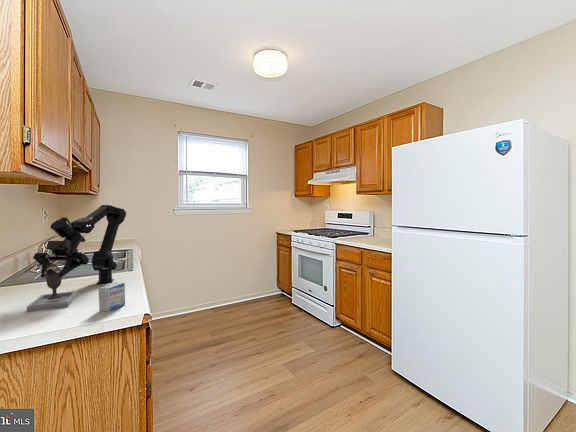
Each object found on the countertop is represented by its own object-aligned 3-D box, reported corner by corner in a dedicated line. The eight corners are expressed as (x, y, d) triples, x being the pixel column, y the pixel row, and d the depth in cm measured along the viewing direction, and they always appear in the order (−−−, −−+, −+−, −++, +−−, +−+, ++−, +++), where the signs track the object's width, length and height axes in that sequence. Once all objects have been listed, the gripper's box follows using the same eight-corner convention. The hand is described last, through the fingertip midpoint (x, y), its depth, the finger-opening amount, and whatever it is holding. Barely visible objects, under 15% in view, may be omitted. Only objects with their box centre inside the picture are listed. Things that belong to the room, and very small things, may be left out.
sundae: (58, 294, 117) (56, 257, 116) (69, 295, 114) (67, 258, 114) (39, 299, 111) (37, 260, 110) (50, 301, 108) (48, 262, 108)
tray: (41, 299, 117) (41, 294, 117) (77, 295, 122) (77, 290, 122) (27, 311, 103) (26, 306, 103) (68, 306, 108) (67, 301, 108)
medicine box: (109, 312, 103) (108, 288, 102) (98, 311, 104) (98, 287, 103) (125, 304, 111) (125, 282, 110) (115, 304, 111) (115, 282, 111)
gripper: (35, 232, 115) (11, 266, 104) (83, 232, 116) (64, 265, 105) (51, 249, 123) (31, 281, 113) (96, 248, 124) (80, 280, 114)
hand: (51, 276), depth 111 cm, fingers closed on sundae, 6 cm apart
